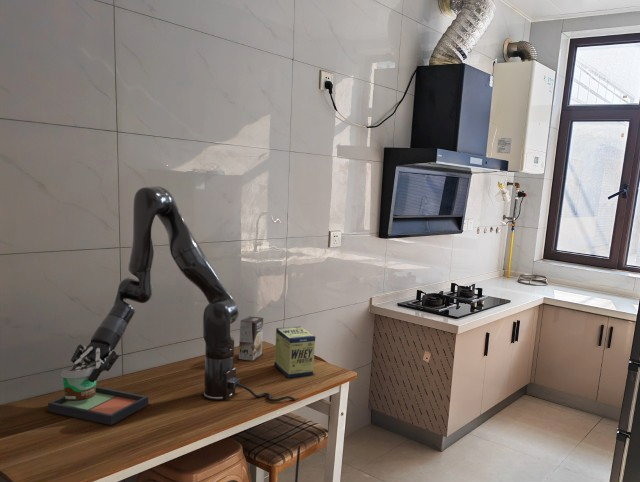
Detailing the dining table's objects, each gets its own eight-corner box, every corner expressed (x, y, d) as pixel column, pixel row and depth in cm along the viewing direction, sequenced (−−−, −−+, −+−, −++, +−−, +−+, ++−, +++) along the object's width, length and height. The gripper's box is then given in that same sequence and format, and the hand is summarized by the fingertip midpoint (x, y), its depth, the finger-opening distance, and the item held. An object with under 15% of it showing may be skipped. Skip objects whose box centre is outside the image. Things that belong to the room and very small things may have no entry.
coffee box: (253, 361, 222) (254, 322, 219) (238, 359, 223) (239, 320, 220) (262, 354, 231) (263, 317, 228) (247, 352, 232) (249, 315, 229)
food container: (79, 405, 163) (78, 374, 161) (61, 402, 164) (60, 370, 162) (109, 391, 175) (108, 361, 173) (92, 387, 176) (91, 358, 174)
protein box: (288, 378, 207) (290, 338, 204) (273, 364, 220) (275, 327, 217) (313, 375, 213) (316, 336, 210) (298, 362, 225) (300, 325, 222)
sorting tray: (148, 404, 174) (148, 396, 174) (111, 425, 159) (110, 416, 158) (89, 392, 179) (89, 384, 178) (48, 411, 164) (47, 402, 163)
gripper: (84, 322, 174) (54, 369, 165) (123, 329, 171) (94, 377, 162) (97, 334, 180) (68, 380, 171) (135, 341, 177) (108, 388, 168)
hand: (81, 379), depth 167 cm, fingers closed on food container, 6 cm apart
